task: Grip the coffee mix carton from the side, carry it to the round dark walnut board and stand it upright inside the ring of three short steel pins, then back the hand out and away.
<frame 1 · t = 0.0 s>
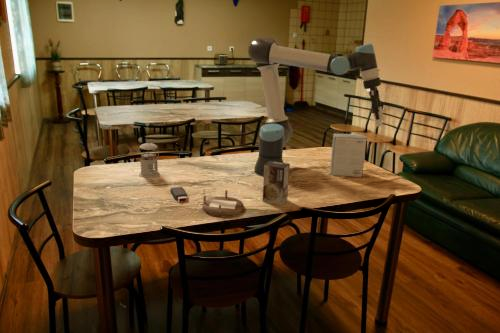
hand: (380, 123, 191), 28 cm above the table, tool tilted 20°, fingers open, 13 cm apart
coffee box: (274, 201, 169), on the table
hard drive box: (345, 174, 205), on the table
pin nest: (223, 208, 160), on the table
french press: (150, 174, 194), on the table
usb drive: (179, 197, 170), on the table
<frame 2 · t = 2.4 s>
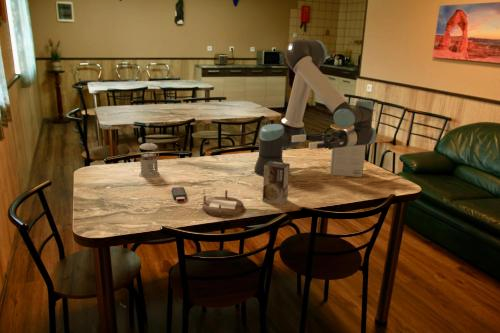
hand: (300, 142, 166), 24 cm above the table, tool horizontal, fingers open, 13 cm apart
nothing on the table moved.
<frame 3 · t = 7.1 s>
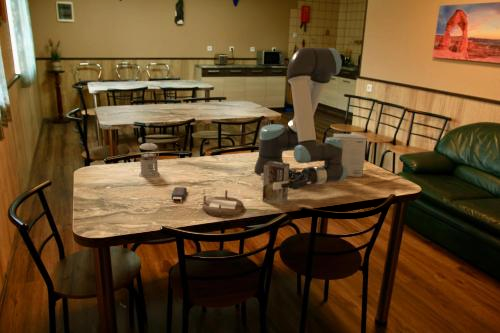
hand: (267, 181, 165), 9 cm above the table, tool horizontal, fingers closed on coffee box, 10 cm apart
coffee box: (274, 201, 169), on the table, touching gripper
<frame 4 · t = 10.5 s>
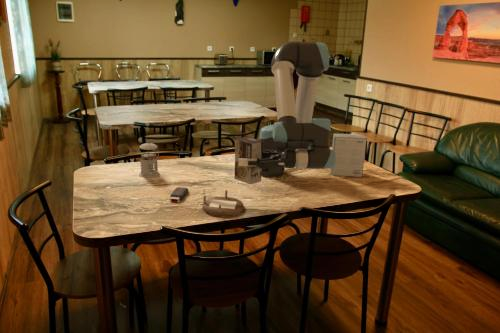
hand: (237, 157, 155), 21 cm above the table, tool horizontal, fingers closed on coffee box, 10 cm apart
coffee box: (247, 180, 158), point 11 cm above the table, touching gripper
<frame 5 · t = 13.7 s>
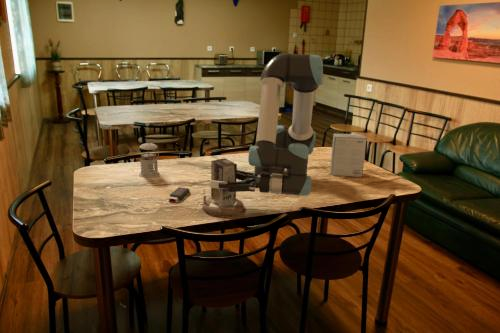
hand: (213, 178, 157), 12 cm above the table, tool horizontal, fingers closed on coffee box, 10 cm apart
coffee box: (223, 201, 159), point 3 cm above the table, touching gripper
when the fingers open (12 cm above the table, at t = 14.2 s): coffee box drops 1 cm, resting on pin nest.
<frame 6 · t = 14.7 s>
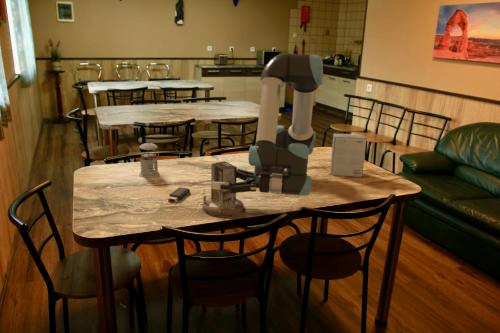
hand: (215, 178, 156), 12 cm above the table, tool horizontal, fingers open, 13 cm apart
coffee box: (223, 204, 160), point 1 cm above the table, touching pin nest
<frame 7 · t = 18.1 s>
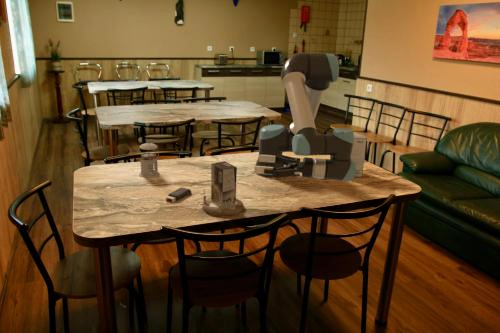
hand: (256, 163, 155), 19 cm above the table, tool horizontal, fingers open, 13 cm apart
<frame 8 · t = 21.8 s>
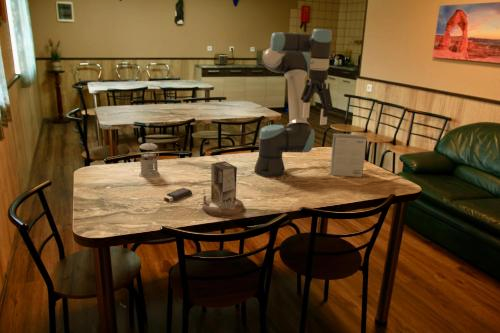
hand: (314, 121, 171), 32 cm above the table, tool pointing down, fingers open, 13 cm apart
at the end: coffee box 0.1 cm off-centre on the pin nest, point 1.5 cm above the pin nest's base; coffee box tilted 0°; the gripper is holding nothing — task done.
